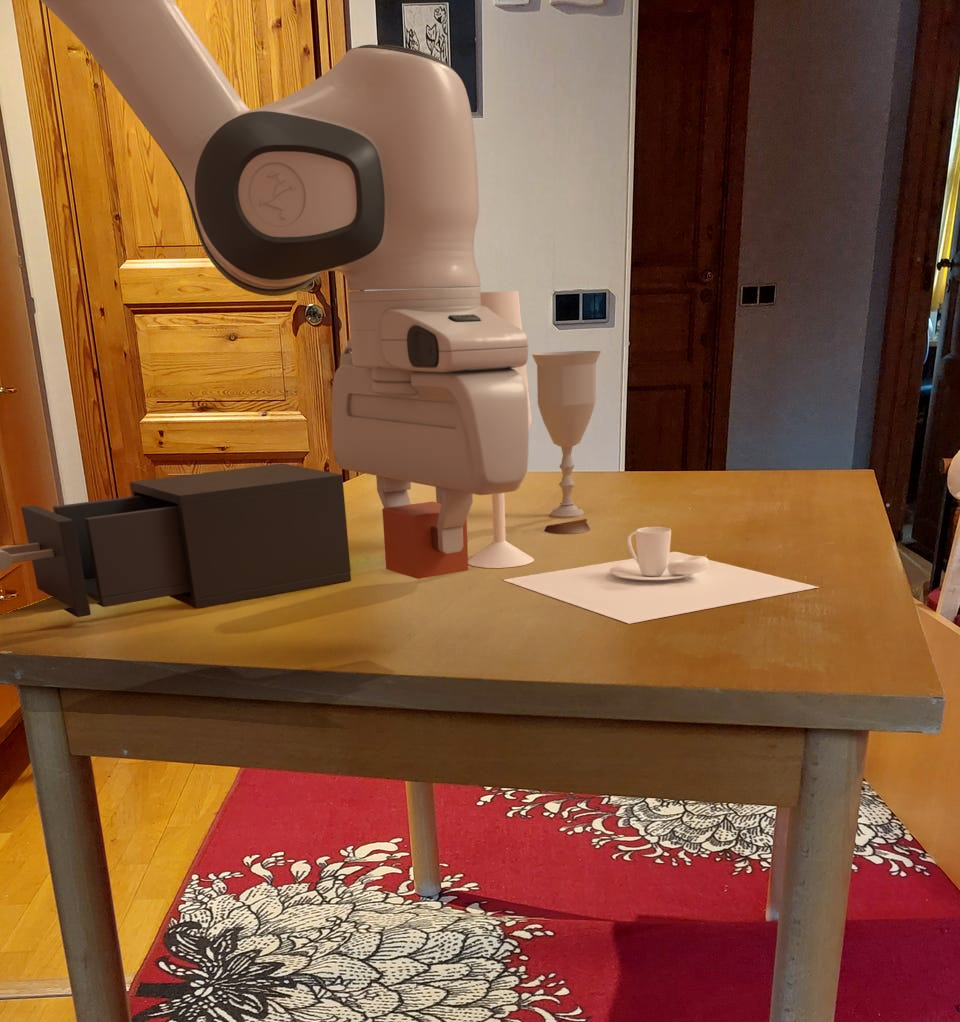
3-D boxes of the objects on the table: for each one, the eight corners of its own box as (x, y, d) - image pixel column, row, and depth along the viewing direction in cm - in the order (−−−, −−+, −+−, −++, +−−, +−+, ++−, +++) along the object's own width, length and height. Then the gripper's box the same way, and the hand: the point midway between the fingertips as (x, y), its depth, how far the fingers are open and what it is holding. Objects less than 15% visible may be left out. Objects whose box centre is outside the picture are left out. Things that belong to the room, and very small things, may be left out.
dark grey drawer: (16, 628, 95) (-5, 530, 91) (-18, 605, 103) (-39, 514, 99) (237, 589, 105) (226, 499, 101) (190, 570, 113) (178, 487, 109)
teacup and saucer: (721, 578, 105) (723, 531, 103) (649, 591, 101) (650, 543, 100) (662, 562, 112) (663, 518, 110) (592, 573, 108) (592, 529, 107)
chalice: (580, 521, 133) (580, 350, 126) (611, 530, 128) (613, 351, 120) (523, 528, 131) (520, 354, 123) (552, 538, 125) (550, 355, 117)
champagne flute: (541, 554, 118) (537, 290, 107) (523, 568, 112) (517, 290, 101) (478, 552, 119) (468, 293, 109) (457, 566, 114) (444, 294, 103)
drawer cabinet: (196, 608, 102) (179, 495, 98) (146, 586, 111) (129, 481, 107) (351, 580, 110) (342, 474, 106) (293, 561, 119) (282, 463, 115)
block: (417, 579, 83) (414, 515, 81) (385, 569, 86) (381, 508, 84) (468, 570, 85) (466, 508, 83) (435, 561, 88) (433, 501, 86)
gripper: (303, 338, 85) (319, 532, 91) (461, 341, 70) (468, 574, 76) (378, 334, 88) (388, 522, 94) (545, 336, 73) (545, 560, 79)
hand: (425, 546), depth 85 cm, fingers closed on block, 4 cm apart
